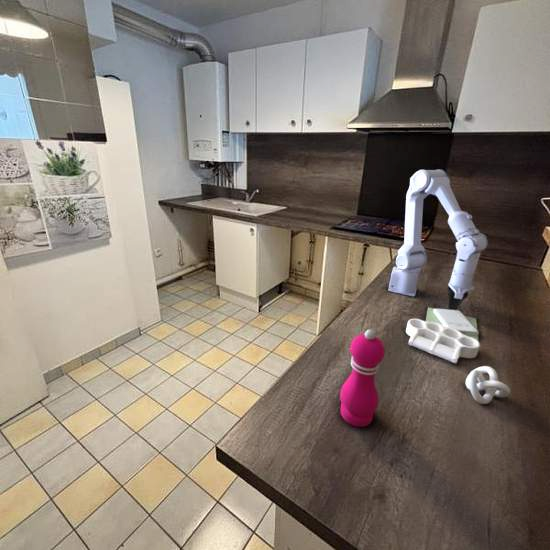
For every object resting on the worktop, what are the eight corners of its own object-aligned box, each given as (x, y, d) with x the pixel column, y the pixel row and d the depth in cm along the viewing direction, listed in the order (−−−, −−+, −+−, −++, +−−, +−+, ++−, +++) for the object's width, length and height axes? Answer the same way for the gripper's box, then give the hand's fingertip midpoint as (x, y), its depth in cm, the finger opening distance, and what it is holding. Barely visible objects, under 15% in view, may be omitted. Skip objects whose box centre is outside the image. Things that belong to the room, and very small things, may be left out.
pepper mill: (333, 400, 62) (344, 319, 54) (366, 398, 62) (381, 318, 55) (344, 430, 55) (357, 343, 47) (380, 428, 56) (400, 342, 48)
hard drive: (459, 314, 96) (477, 336, 84) (432, 312, 97) (447, 333, 85) (460, 310, 95) (479, 331, 84) (433, 308, 96) (449, 328, 85)
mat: (424, 326, 89) (424, 326, 89) (428, 307, 100) (428, 307, 100) (478, 341, 83) (478, 340, 83) (475, 319, 94) (476, 318, 94)
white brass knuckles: (395, 342, 81) (412, 322, 91) (469, 373, 70) (479, 346, 80) (397, 332, 80) (414, 312, 90) (473, 362, 69) (483, 336, 79)
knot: (486, 414, 59) (495, 393, 57) (450, 387, 66) (457, 367, 64) (509, 403, 62) (518, 382, 60) (472, 378, 69) (480, 358, 66)
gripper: (480, 282, 83) (466, 323, 89) (477, 267, 95) (465, 303, 100) (451, 277, 87) (440, 316, 92) (452, 263, 98) (442, 298, 104)
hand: (452, 309), depth 96 cm, fingers closed
